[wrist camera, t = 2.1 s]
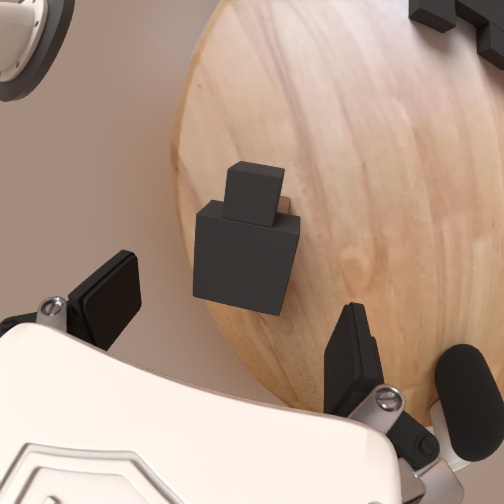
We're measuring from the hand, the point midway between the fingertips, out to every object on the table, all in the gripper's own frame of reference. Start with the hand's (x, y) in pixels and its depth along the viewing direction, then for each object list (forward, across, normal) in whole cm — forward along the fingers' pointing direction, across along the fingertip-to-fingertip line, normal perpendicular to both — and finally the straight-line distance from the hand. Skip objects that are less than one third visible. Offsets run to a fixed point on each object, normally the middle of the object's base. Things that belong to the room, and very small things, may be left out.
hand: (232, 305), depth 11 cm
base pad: (+11, -13, -24) cm, 30 cm away
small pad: (+5, 0, -1) cm, 5 cm away
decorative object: (+12, -25, +11) cm, 29 cm away
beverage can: (+12, -32, +22) cm, 40 cm away
